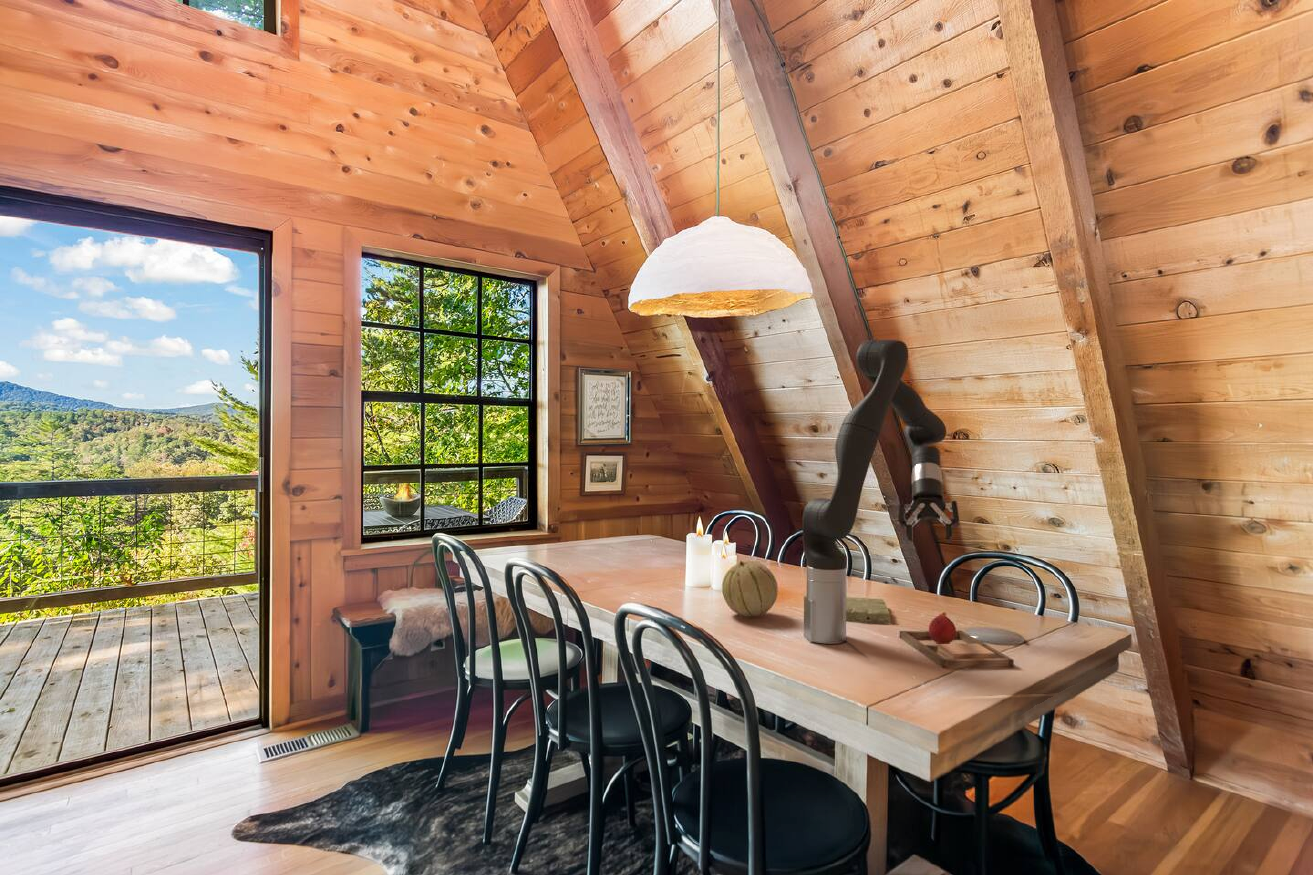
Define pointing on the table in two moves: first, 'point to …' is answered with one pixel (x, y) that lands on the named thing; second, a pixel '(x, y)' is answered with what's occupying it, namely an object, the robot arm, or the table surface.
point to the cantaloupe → (749, 588)
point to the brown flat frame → (931, 653)
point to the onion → (942, 629)
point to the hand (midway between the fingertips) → (929, 540)
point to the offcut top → (966, 651)
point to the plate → (995, 635)
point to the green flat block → (867, 610)
